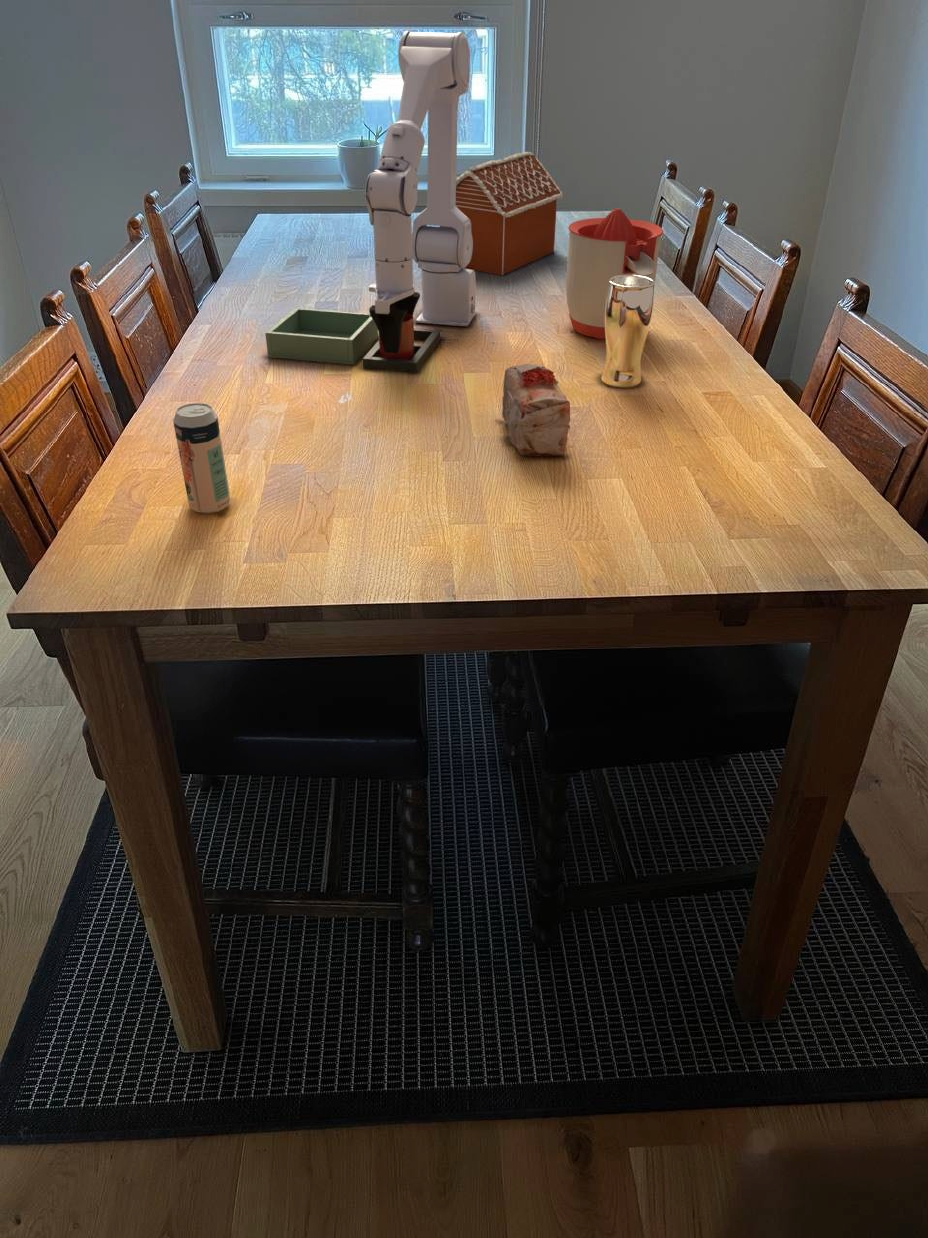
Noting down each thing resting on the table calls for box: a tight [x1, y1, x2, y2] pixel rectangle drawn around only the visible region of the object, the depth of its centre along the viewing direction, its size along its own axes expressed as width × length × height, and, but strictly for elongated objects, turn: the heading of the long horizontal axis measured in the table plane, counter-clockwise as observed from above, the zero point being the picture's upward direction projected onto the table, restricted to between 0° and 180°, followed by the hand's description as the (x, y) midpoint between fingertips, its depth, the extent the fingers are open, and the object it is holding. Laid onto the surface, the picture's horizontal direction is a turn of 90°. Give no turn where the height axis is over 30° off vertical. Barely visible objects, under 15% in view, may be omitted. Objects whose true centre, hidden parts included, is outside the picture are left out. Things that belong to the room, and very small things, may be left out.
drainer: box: [362, 327, 442, 373], centre depth 150 cm, size 9×16×2 cm, turn 168°
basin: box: [264, 307, 379, 366], centre depth 151 cm, size 15×14×4 cm
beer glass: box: [600, 275, 656, 388], centre depth 137 cm, size 7×7×15 cm
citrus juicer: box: [565, 207, 664, 341], centre depth 155 cm, size 16×17×20 cm
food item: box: [501, 363, 571, 457], centre depth 120 cm, size 14×8×10 cm, turn 10°
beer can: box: [172, 402, 232, 515], centre depth 104 cm, size 5×5×12 cm
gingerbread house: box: [439, 151, 564, 276], centre depth 194 cm, size 18×26×20 cm
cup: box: [378, 313, 415, 360], centre depth 146 cm, size 6×6×7 cm
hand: (396, 345), depth 146 cm, fingers closed on cup, 5 cm apart
